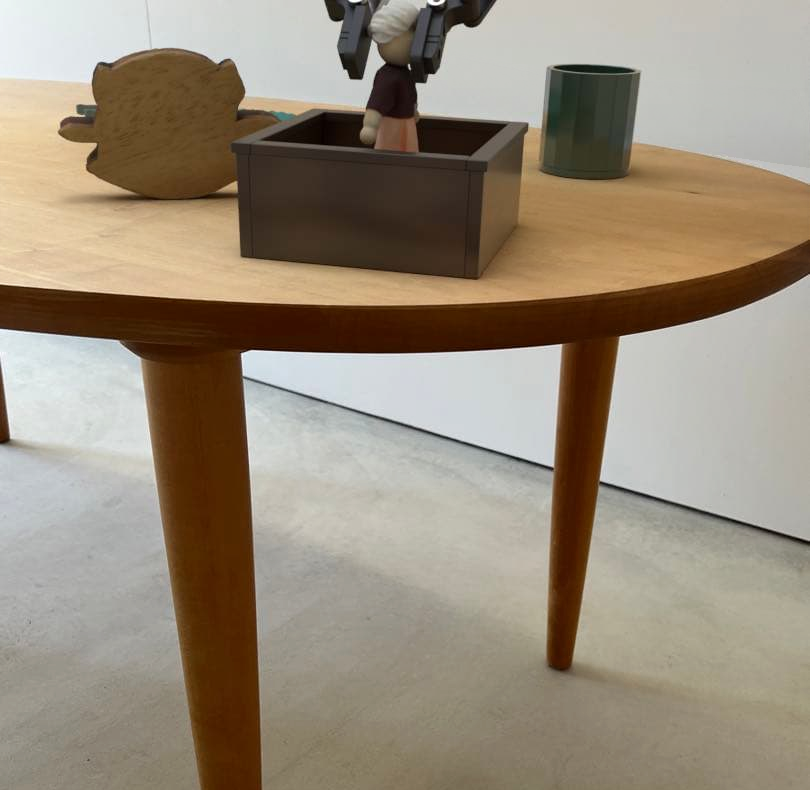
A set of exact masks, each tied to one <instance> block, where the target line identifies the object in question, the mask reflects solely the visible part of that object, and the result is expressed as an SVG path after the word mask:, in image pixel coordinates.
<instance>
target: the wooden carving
mask: <svg viewBox="0 0 810 790" xmlns="http://www.w3.org/2000/svg"><path fill="white" fill-rule="evenodd" d="M91 92H92V96H93V100H94V102H95V105H97V108H96V111H95V114H94V117H85V116H74V115H70V116H67V117H65V118H63V119H62V120H61V121H60V122H59V127H60V128H59V129H58V130H57V134H58V135H59V136H60V137H61V138H63V139H65V141H69V142H72V143H78V144H79V143H80V144H96V146H95V147H94V148H93V150H92V151H91V152H90V153H89V154H88V155H87V156H86V163H85V170H86V171H87V172H88V173H89V174H91V175H93V176H95V177H96V178H97V179H99V180H101V181H104V182H106V183H108V184H110V185H112V186H115V187H118V188H120V189H123V190H124V191H128V192H130V193H131V192H132V193H134V194H137V195H141V196H143V197H147V198H155V199H159V200H160V199H161V200H188V199H195V198H201V197H204V196H207V195H209V194H213V193H216V192H218V191H220V190H222V189H223V188H226V187H228V186H229V185H231V184H233V183H235V182H237V166H236V153H232V152H231V142H233V141H236V140H238V139H240V138H243V137H245V136H248V135H250V134H253V133H255V132H257V131H260V130H262V129H265V128H267V127H270V126H272V125H274V124H277V123H279V122H282V121H281V120H280V119H279V118H278V117H277V116H275V115H274V114H272V113H270V112H266V111H267V110H265V111H262V110H263V109H254V110H251V109H248V108H247V109H246V108H245V109H246V110H240V111H238V109H239V107H240V104H241V103H242V101H243V100H244V98H245V95H246V92H247V91H246V87H245V84H244V82H243V79H242V78H241V75H240V73H239V70H238V67H237V65H236V63H235V61H233V59H232V58H224V59H222V60H220V62H218V63H216V62H215V61H214V60H212V59H211V58H209V56H206V55H204V54H202V53H199V52H196V51H193V50H189V49H184V48H179V47H161V48H152V49H145V50H140V51H135V52H133V53H130V54H127V55H123V56H121V57H120V58H118V59H117V60H115V61H113V62H106V61H99V62H97V63H96V65H95V67H94V70H93V72H92V78H91Z"/></svg>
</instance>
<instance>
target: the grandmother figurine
mask: <svg viewBox="0 0 810 790" xmlns="http://www.w3.org/2000/svg"><path fill="white" fill-rule="evenodd" d="M419 13H420V9H418V8H417V6H416V5H414V4H413V3H411V2H408V1H405V0H393V1H390V2H389V3H388V4H387V5H386V6H385V5H383V6H382V8H381V9H380V10H379V11H378V12H376V13H375V14H374V15H373V17H372V20H371V23H370V25H369V26H368V28H367V34H368V36H369V37H370V38H372V41H373V42H374V43H375V44H376V48H377V52H378V55H379V57H380V58H381V59H382V60H383V62H384V64H383V65H381V66H380V67H379V68H378V69H377V70H376V72H375V74H374V77H373V82H372V88H371V91H370V94H369V97H368V100H367V102H366V105H365V112H366V113H365V117H364V121H363V124H364V127H363V129H362V130H361V132H360V139H361V141H362V142H363V143H365V144H373V143H374V142H375V141H376V144H375V147H374V149H381V150H394V151H408V152H419V150H418V139H417V132H416V125H415V124H416V123H417V122H418V121H419V117H420V116H419V115H420V112H419V110H418V108H419V103H418V90H417V87H416V86H417V83H414V82H413V78H412V73H411V69H410V66H409V65H410V53H411V48H412V44H413V39H414V35H415V30H416V26H417V21H418V17H419Z"/></svg>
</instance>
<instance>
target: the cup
mask: <svg viewBox="0 0 810 790" xmlns="http://www.w3.org/2000/svg"><path fill="white" fill-rule="evenodd" d="M641 78H642V70H641V69H637V68H635V67H628V66H623V65H610V64H595V63H559V64H551V65H548V66H547V67H546V71H545V80H544V81H545V82H544V92H543V106H542V107H543V108H542V117H541V128H540V129H541V130H540V133H541V134H540V144H539V154H538V157H539V158H538V162H539V163H538V169H539V170H540V171H542V172H544V173H546V174H548V175H553V176H558V177H562V178H570V179H583V180H609V179H611V180H612V179H618V178H623V177H626V176H628V175H629V174H630V166H631V163H632V155H633V146H634V137H635V130H636V129H635V128H636V121H637V113H638V103H639V97H640V96H639V95H640V86H641V80H642V79H641Z"/></svg>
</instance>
